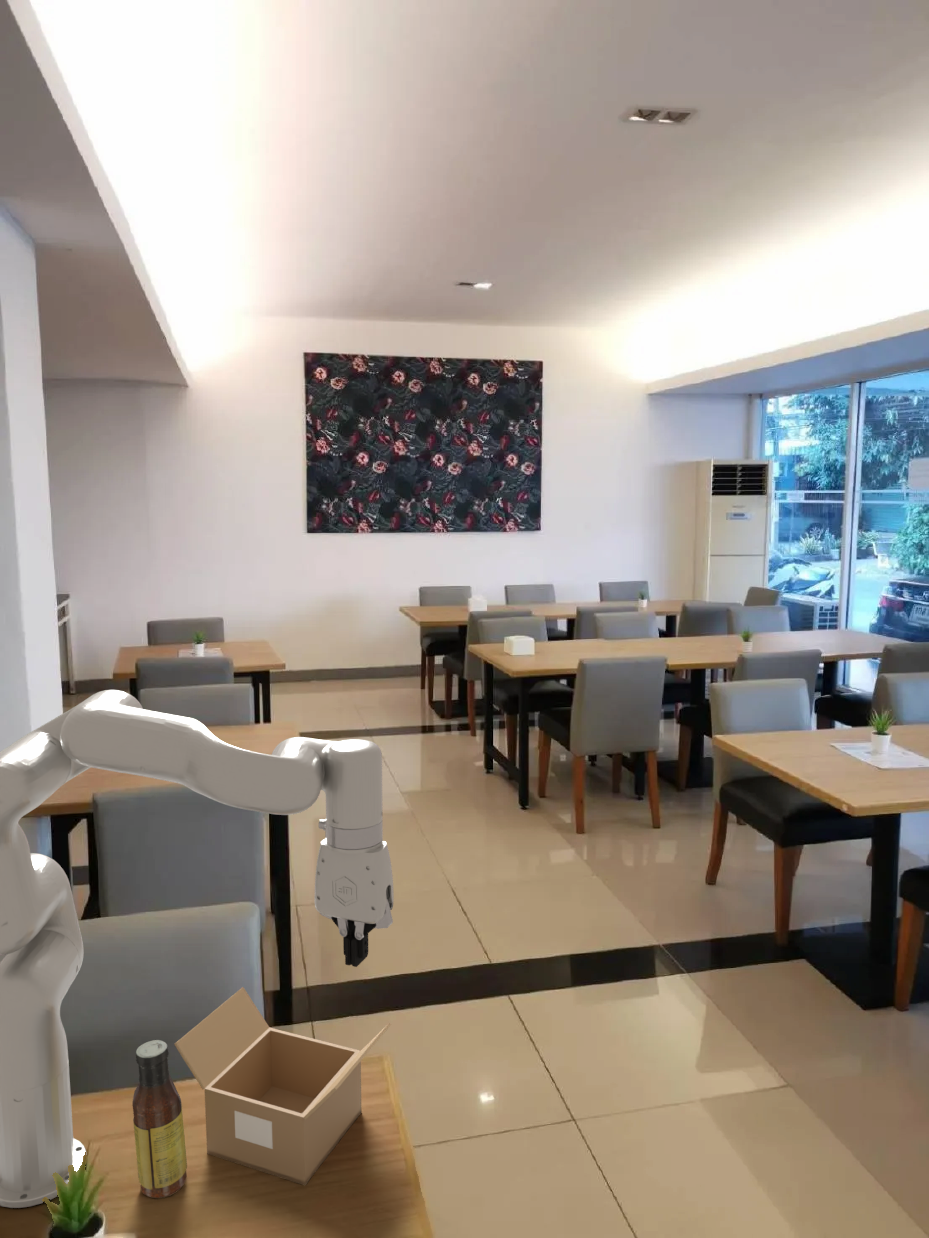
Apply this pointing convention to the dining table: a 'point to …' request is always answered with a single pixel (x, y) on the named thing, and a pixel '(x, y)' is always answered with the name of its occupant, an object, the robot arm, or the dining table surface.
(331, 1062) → the carton
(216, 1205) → the dining table surface
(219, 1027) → the flap
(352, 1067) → the flap
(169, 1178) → the sauce bottle
